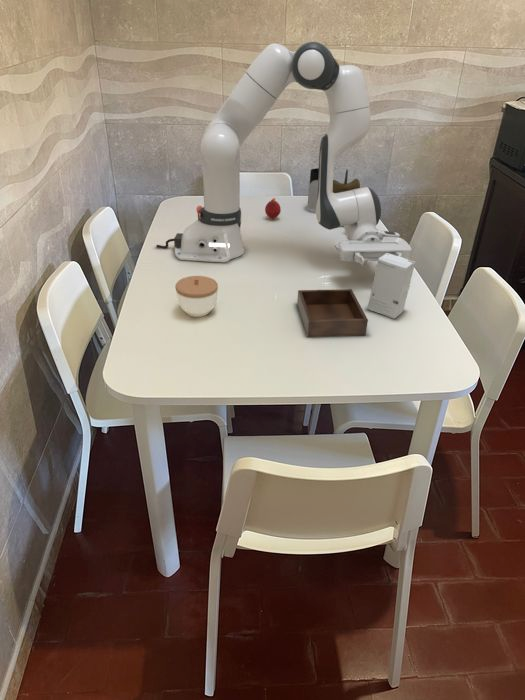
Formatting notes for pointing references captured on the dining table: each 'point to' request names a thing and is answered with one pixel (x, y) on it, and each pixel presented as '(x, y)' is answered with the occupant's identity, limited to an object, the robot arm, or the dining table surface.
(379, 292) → the cosmetic box
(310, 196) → the glass holder
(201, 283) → the trinket box
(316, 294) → the crate
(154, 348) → the dining table surface
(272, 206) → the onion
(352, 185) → the kendama
